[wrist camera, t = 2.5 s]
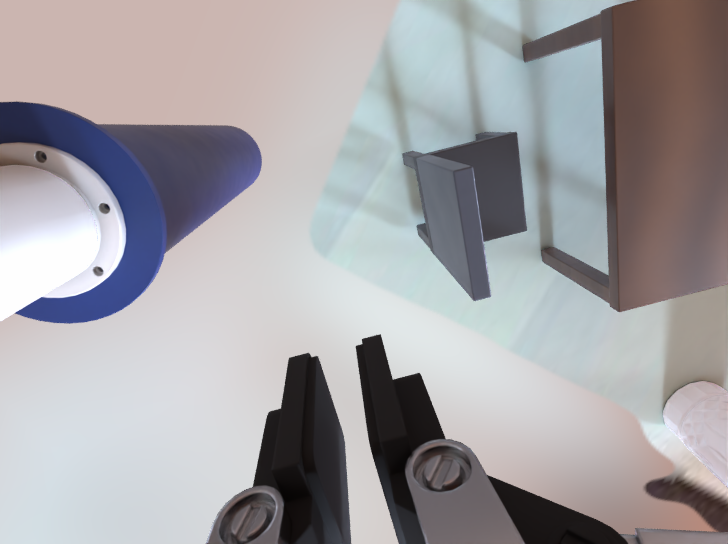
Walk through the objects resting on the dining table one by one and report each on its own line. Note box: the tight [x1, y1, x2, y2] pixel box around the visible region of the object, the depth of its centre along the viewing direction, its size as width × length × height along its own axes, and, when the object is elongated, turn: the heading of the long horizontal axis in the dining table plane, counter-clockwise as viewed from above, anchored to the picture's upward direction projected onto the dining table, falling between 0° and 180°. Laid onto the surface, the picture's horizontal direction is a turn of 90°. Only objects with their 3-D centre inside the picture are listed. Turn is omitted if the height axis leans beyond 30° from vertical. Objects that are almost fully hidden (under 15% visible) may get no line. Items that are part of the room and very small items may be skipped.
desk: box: [523, 0, 728, 312], centre depth 29 cm, size 12×18×10 cm, turn 13°
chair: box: [402, 132, 527, 301], centre depth 27 cm, size 7×7×14 cm
